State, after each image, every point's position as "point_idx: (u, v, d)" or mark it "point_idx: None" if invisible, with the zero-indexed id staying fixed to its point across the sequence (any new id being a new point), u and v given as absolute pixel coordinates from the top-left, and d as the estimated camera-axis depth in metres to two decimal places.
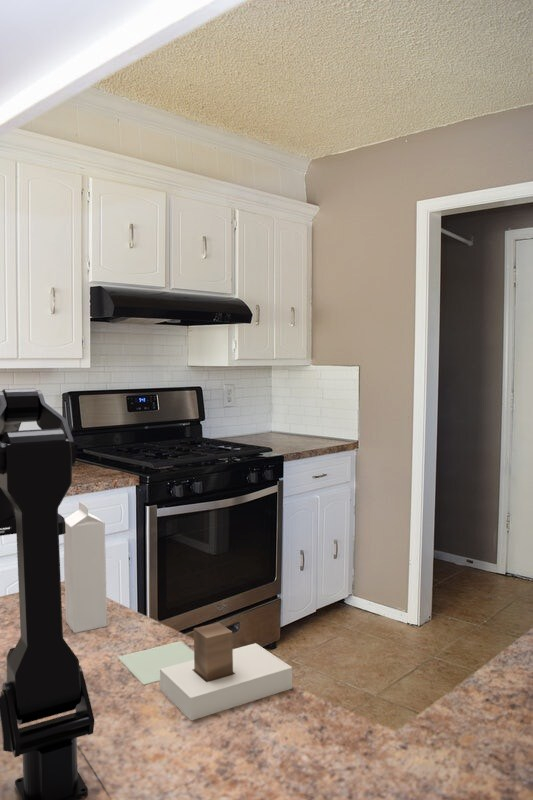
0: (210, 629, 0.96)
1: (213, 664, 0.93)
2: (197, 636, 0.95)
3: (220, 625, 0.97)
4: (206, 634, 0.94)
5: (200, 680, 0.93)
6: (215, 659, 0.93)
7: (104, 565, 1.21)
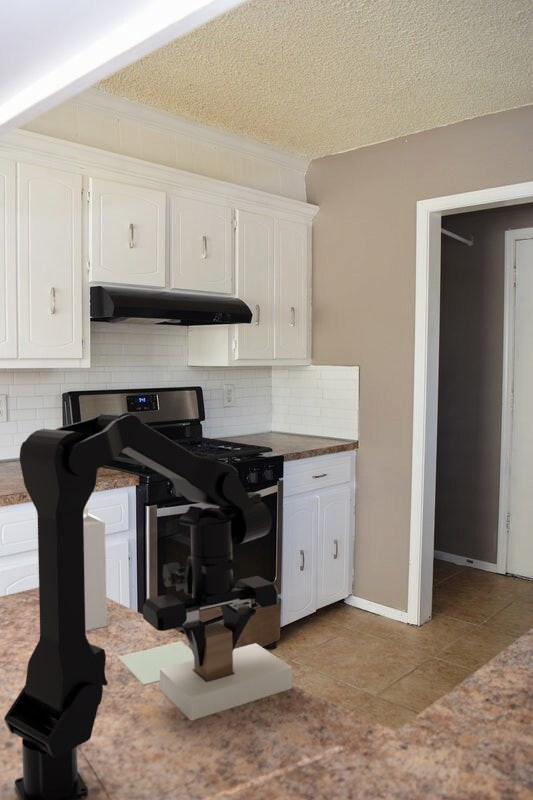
0: (210, 629, 0.96)
1: (213, 664, 0.93)
2: None
3: (220, 625, 0.97)
4: (206, 634, 0.94)
5: (200, 680, 0.93)
6: (215, 659, 0.93)
7: (104, 565, 1.21)
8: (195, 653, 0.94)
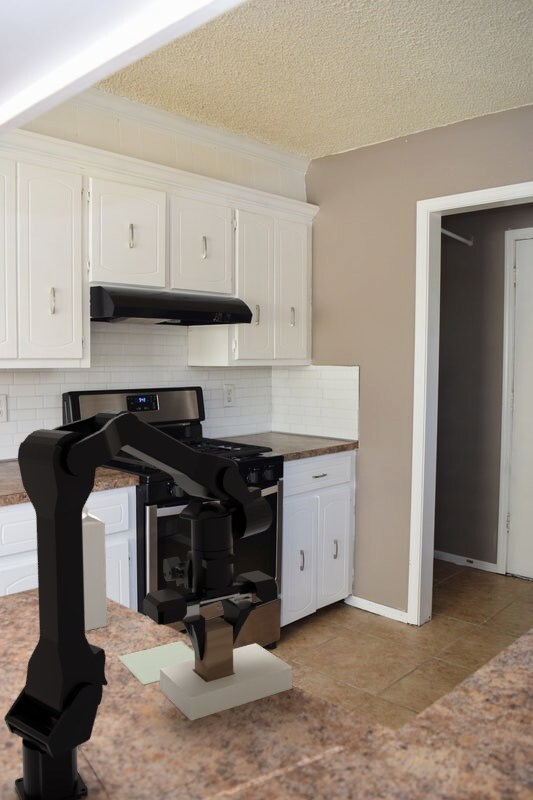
0: (211, 623, 0.96)
1: (213, 658, 0.93)
2: None
3: (220, 620, 0.97)
4: (206, 629, 0.94)
5: (200, 680, 0.93)
6: (215, 653, 0.93)
7: (104, 565, 1.21)
8: (195, 647, 0.94)
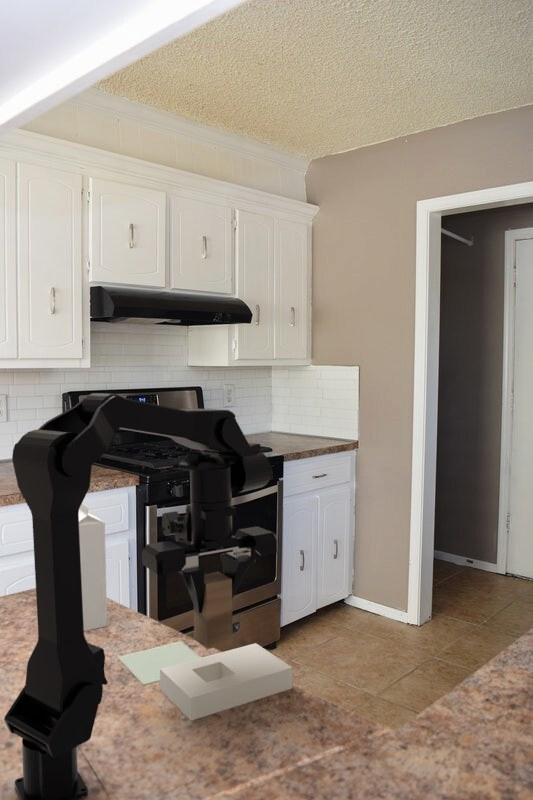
0: (210, 577, 0.95)
1: (212, 611, 0.93)
2: None
3: (219, 574, 0.97)
4: (205, 581, 0.93)
5: (200, 680, 0.93)
6: (214, 606, 0.93)
7: (104, 565, 1.21)
8: (194, 600, 0.93)
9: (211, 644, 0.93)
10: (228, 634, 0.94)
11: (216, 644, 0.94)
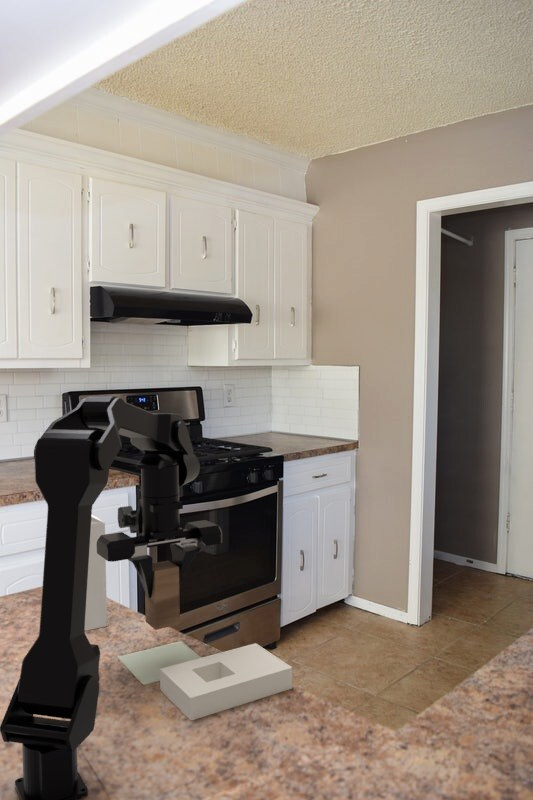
0: (159, 565, 1.05)
1: (161, 595, 1.03)
2: None
3: (169, 562, 1.06)
4: (154, 568, 1.03)
5: (200, 680, 0.93)
6: (162, 591, 1.03)
7: (104, 565, 1.21)
8: (144, 586, 1.03)
9: (159, 625, 1.03)
10: (175, 617, 1.04)
11: (164, 625, 1.03)
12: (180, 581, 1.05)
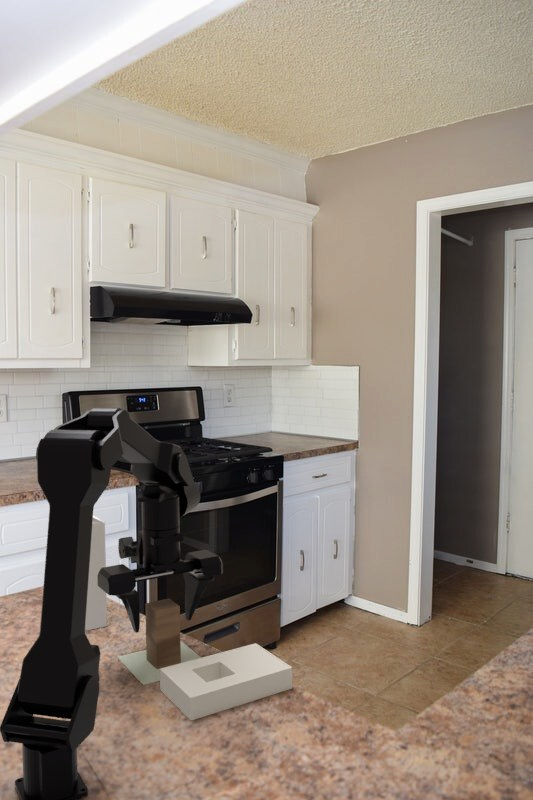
0: (160, 603, 1.06)
1: (162, 635, 1.03)
2: (148, 610, 1.05)
3: (170, 600, 1.07)
4: (155, 608, 1.04)
5: (200, 680, 0.93)
6: (163, 630, 1.03)
7: (104, 565, 1.21)
8: (132, 620, 1.02)
9: (160, 665, 1.03)
10: (176, 655, 1.05)
11: (165, 665, 1.04)
12: (193, 609, 1.07)
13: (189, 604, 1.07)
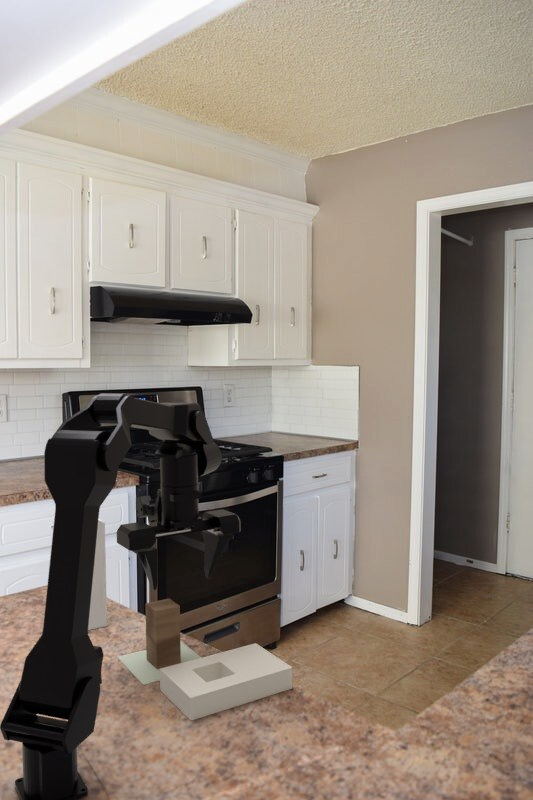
0: (160, 603, 1.06)
1: (162, 635, 1.03)
2: (148, 610, 1.05)
3: (170, 600, 1.07)
4: (155, 608, 1.04)
5: (200, 680, 0.93)
6: (163, 630, 1.03)
7: (104, 565, 1.21)
8: (149, 578, 1.02)
9: (160, 665, 1.03)
10: (176, 655, 1.05)
11: (165, 665, 1.04)
12: (213, 567, 1.07)
13: (209, 562, 1.07)
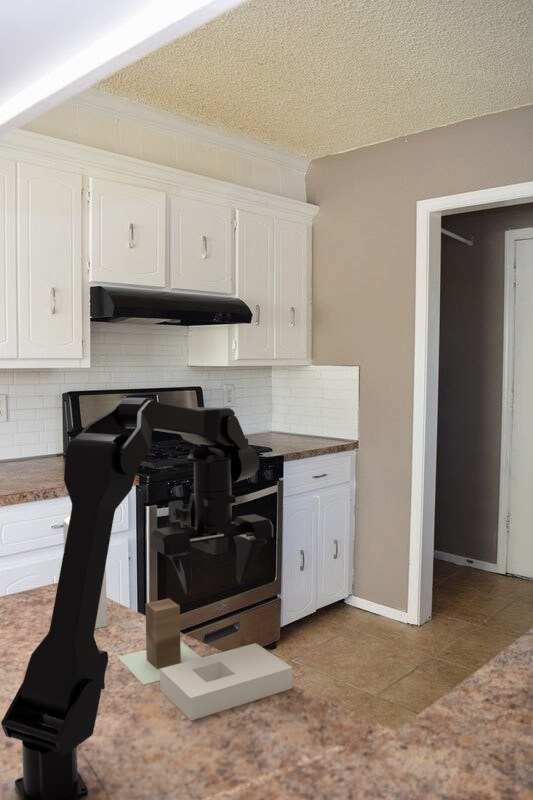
0: (160, 603, 1.06)
1: (162, 635, 1.03)
2: (148, 610, 1.05)
3: (170, 600, 1.07)
4: (155, 608, 1.04)
5: (200, 680, 0.93)
6: (163, 630, 1.03)
7: None
8: (183, 582, 1.02)
9: (160, 665, 1.03)
10: (176, 655, 1.05)
11: (165, 665, 1.04)
12: (245, 572, 1.07)
13: (241, 567, 1.07)
